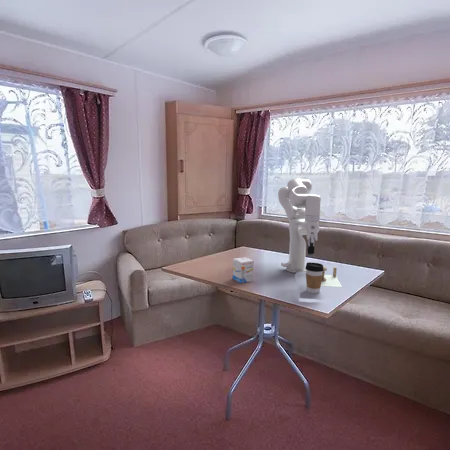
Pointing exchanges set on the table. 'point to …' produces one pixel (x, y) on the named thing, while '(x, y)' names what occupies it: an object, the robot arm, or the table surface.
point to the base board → (331, 281)
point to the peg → (308, 245)
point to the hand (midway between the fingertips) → (310, 252)
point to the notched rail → (333, 271)
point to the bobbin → (323, 275)
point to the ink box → (243, 269)
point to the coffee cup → (314, 277)
